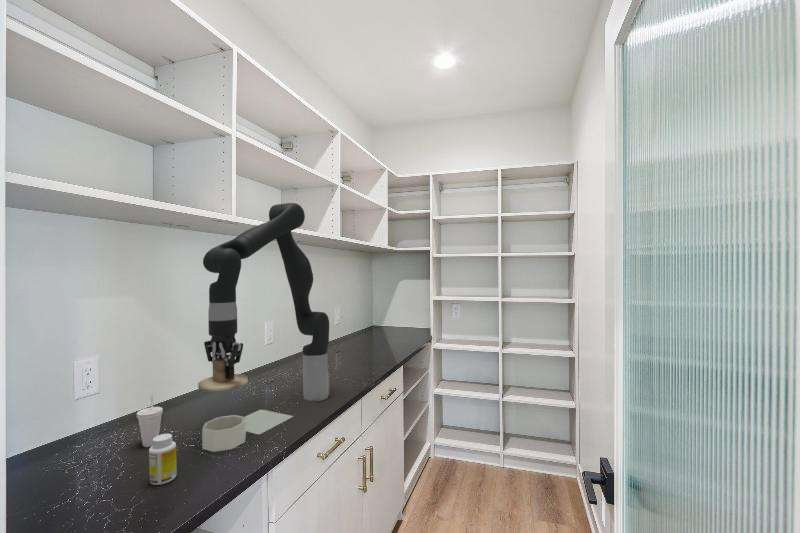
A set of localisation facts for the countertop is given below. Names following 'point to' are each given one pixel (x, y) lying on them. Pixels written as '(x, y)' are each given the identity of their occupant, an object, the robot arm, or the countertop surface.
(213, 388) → the lid
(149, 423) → the smoothie
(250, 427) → the mat
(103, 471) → the countertop surface
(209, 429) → the bowl
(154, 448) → the supplement bottle
